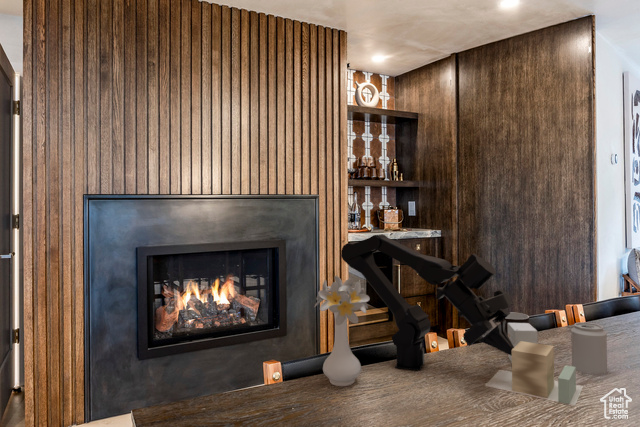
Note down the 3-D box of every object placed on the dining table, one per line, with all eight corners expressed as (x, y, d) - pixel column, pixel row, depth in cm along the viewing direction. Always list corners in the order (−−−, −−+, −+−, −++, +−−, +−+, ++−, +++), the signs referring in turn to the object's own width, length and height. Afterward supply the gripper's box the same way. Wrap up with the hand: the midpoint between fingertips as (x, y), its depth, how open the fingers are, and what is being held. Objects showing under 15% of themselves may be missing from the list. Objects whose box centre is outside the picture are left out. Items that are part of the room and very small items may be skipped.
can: (602, 369, 111) (601, 321, 111) (611, 380, 104) (610, 329, 104) (569, 366, 114) (568, 320, 114) (575, 377, 107) (574, 327, 106)
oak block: (512, 390, 97) (511, 350, 97) (521, 379, 103) (520, 341, 103) (547, 398, 93) (546, 355, 93) (554, 385, 99) (553, 346, 99)
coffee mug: (531, 348, 129) (531, 314, 129) (527, 356, 122) (526, 320, 122) (489, 342, 135) (489, 309, 135) (483, 350, 128) (483, 316, 128)
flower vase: (329, 402, 96) (327, 287, 95) (309, 372, 113) (307, 275, 113) (385, 394, 99) (382, 283, 99) (356, 366, 117) (354, 272, 117)
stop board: (558, 401, 91) (558, 377, 91) (565, 387, 98) (565, 365, 98) (569, 404, 90) (569, 380, 90) (576, 389, 97) (575, 366, 97)
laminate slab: (484, 389, 100) (484, 385, 100) (499, 373, 110) (499, 369, 110) (575, 410, 89) (575, 405, 89) (583, 390, 99) (583, 386, 99)
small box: (538, 372, 110) (538, 330, 110) (514, 371, 111) (514, 330, 111) (530, 361, 118) (529, 322, 117) (508, 360, 119) (507, 322, 119)
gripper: (476, 285, 96) (532, 344, 89) (500, 274, 111) (550, 324, 104) (442, 317, 101) (493, 375, 94) (470, 302, 116) (515, 351, 109)
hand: (515, 354), depth 100 cm, fingers closed, pressing on oak block
